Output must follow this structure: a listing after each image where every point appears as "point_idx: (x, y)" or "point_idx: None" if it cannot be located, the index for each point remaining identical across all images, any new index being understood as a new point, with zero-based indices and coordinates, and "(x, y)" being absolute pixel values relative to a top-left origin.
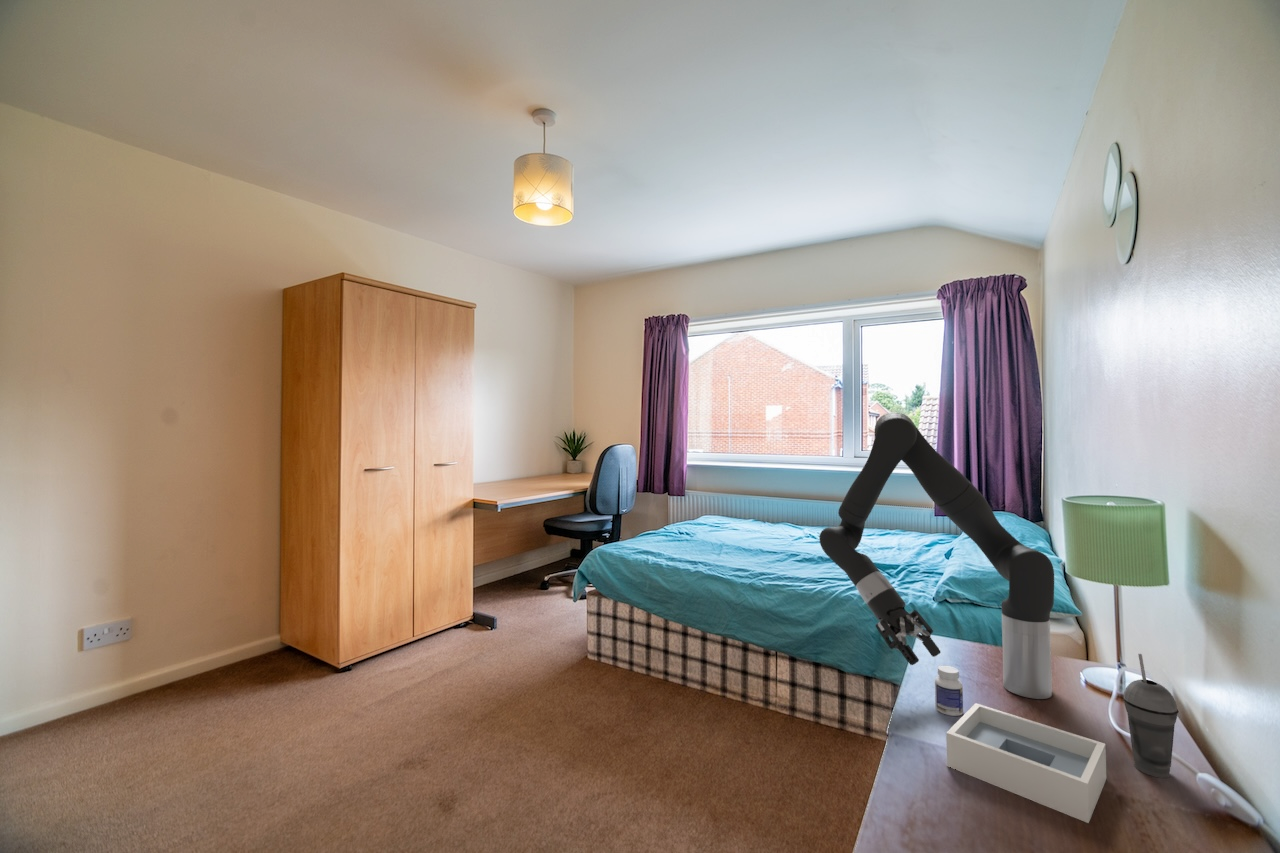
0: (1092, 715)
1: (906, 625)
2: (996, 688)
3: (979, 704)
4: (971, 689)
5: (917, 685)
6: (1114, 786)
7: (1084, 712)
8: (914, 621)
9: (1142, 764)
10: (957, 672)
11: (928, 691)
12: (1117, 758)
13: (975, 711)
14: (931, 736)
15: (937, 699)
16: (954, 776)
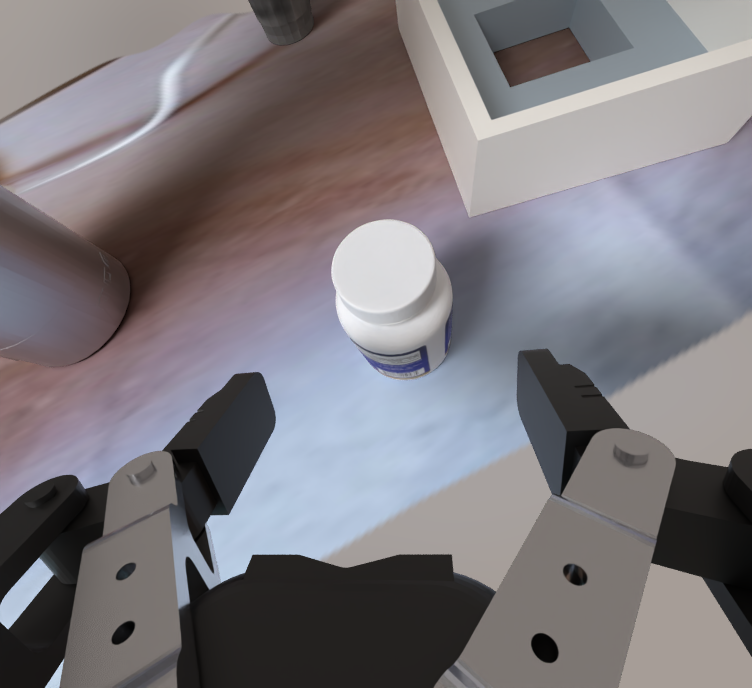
0: (123, 169)
1: (333, 679)
2: (121, 359)
3: (474, 130)
4: (186, 396)
5: (311, 537)
6: None
7: (119, 183)
8: (89, 659)
9: (308, 8)
10: (377, 221)
11: (326, 473)
12: (294, 62)
13: (539, 107)
14: (627, 258)
15: (448, 339)
16: None
